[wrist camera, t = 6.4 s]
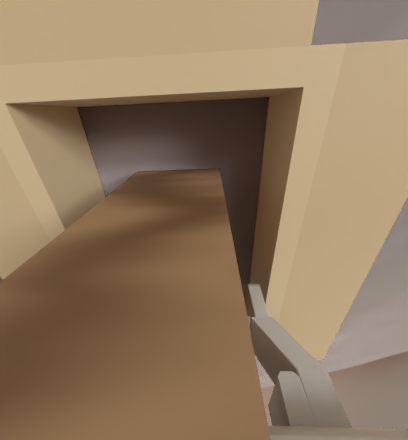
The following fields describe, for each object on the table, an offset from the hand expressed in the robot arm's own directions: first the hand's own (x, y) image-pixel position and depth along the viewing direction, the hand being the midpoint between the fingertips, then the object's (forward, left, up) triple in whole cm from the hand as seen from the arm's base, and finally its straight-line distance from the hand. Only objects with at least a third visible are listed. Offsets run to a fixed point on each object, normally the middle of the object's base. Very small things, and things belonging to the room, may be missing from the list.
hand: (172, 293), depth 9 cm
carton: (0, 0, -5) cm, 5 cm away
